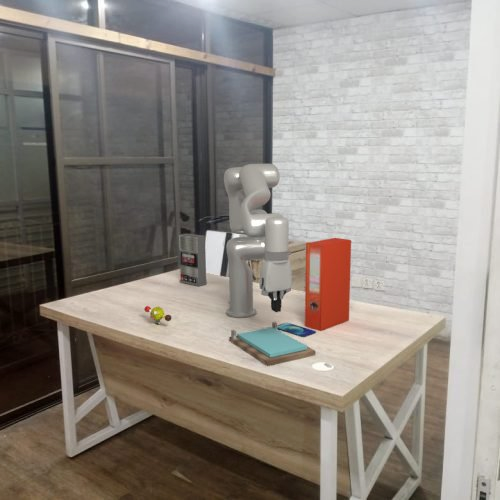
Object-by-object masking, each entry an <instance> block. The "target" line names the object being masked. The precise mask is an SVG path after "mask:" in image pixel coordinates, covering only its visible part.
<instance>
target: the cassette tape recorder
mask: <svg viewBox="0 0 500 500" xmlns="http://www.w3.org/2000/svg"><path fill="white" fill-rule="evenodd" d="M178 244H179V245H178V247H179V270H180V271H179V273H180V274H179V276H180V279H179V283H181V284H187V285H191V286H196V287H201V286H204V285H205V286H206V285H207V284H208V282H207V264H206V262H207V260H206V257H207V256H206V254H207V253H206V235H204V234H202V235H201V234H195V233H181V234H178Z"/></svg>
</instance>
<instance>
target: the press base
mask: <svg viewBox="0 0 500 500" xmlns="http://www.w3.org/2000/svg"><path fill="white" fill-rule="evenodd" d="M277 325H278V323H277V322H276V321H272V322H271V327H272V328H274V329H276V330H278V329H277ZM228 339H229V342H230V343H231V344H233V345H235V346H236V347H237V348H239V349H240V350H242V351H244V352H245V353H247V354H248V355H250V356H251V357H252V358H254V359H255V360H257V361H259V362H260V361H261V362H260V363H262V364H263V365H264V366H266V365H267V366H266V367H270V365H271V366H276V365H279V364H283V363H287V362H291V361H295V360H300V359H304V358H310V357H313V356H316V350H315V349H313V348H312V347H309V346H307V350H302V351H298V352H293V353H289V354H284V355H280V356H275V357H271V358H270V357H268V356H267V355H265V354H263V353H262V352H260V351H259V350H257V349H255V348H254V347H252V346H251V345H249V344H247V343H246V342H244V341H243V340H241V339H239V338H238V337H237V330H235V329H231V330H230V336H229V337H228Z"/></svg>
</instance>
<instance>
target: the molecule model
mask: <svg viewBox="0 0 500 500" xmlns="http://www.w3.org/2000/svg"><path fill="white" fill-rule="evenodd" d="M144 312H145V313H150V316H149V317H150V318H151V319H152V320H154V321H155V322H154V324H155V325H157V326H158V325H161V320H162V319H163V318H164V320H165V321H166V322H170V321H171V320H172V315H170V314H166V315H165V310H164V309H163V308H162V307H160V306H154V307H150V306H148V305H147V306H145V307H144Z"/></svg>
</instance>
